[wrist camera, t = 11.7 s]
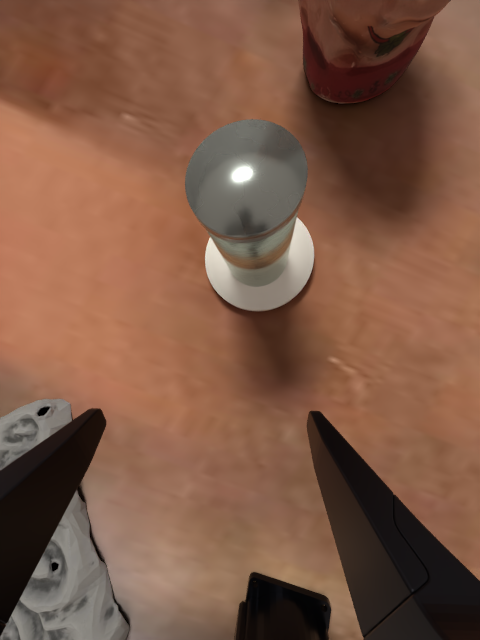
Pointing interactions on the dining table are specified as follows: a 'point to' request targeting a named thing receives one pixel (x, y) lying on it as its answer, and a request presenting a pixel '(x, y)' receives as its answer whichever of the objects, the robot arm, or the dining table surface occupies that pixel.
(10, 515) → the robot arm
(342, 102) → the decorative planter
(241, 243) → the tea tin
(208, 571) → the dining table surface
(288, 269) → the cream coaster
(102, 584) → the wall plaque
